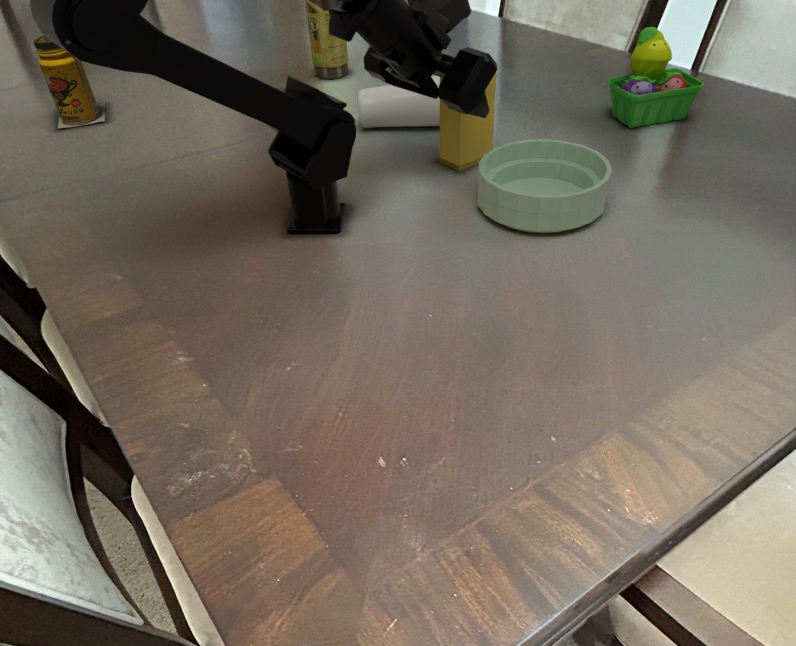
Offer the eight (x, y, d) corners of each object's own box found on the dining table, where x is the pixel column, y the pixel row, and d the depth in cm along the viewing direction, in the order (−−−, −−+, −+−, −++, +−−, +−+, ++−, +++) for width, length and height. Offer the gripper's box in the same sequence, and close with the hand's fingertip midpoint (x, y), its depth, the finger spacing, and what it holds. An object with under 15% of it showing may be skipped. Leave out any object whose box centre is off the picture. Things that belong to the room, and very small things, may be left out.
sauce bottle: (312, 70, 120) (295, -64, 106) (347, 66, 121) (334, -67, 107) (316, 82, 116) (299, -56, 102) (351, 78, 117) (339, -60, 103)
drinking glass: (360, 137, 98) (462, 127, 97) (354, 86, 95) (460, 74, 93) (364, 129, 104) (461, 119, 102) (359, 81, 100) (459, 70, 99)
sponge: (459, 171, 89) (461, 75, 81) (439, 162, 91) (439, 68, 83) (491, 157, 92) (497, 63, 83) (471, 149, 94) (474, 56, 85)
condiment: (57, 130, 106) (24, 46, 97) (60, 111, 112) (29, 31, 103) (105, 122, 107) (76, 40, 99) (105, 104, 113) (78, 25, 105)
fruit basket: (626, 133, 95) (642, 46, 87) (596, 111, 101) (609, 28, 94) (697, 121, 97) (720, 35, 89) (664, 100, 103) (682, 18, 95)
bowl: (613, 237, 76) (622, 196, 72) (478, 238, 77) (480, 197, 73) (594, 176, 86) (600, 137, 83) (475, 178, 87) (477, 140, 84)
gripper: (490, -32, 66) (552, 62, 79) (376, -56, 77) (447, 30, 90) (430, 72, 69) (499, 148, 81) (327, 35, 79) (403, 107, 92)
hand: (461, 104), depth 86 cm, fingers open, 9 cm apart
